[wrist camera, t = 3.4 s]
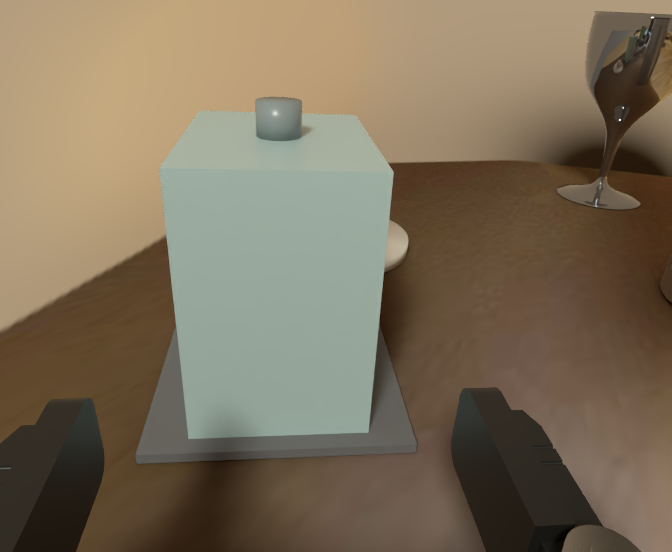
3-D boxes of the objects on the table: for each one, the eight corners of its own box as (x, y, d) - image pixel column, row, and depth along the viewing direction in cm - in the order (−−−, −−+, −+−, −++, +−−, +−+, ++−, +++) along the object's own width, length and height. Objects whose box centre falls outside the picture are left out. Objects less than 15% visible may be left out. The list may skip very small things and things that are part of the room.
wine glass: (586, 212, 45) (641, 12, 38) (535, 184, 51) (573, 10, 45) (666, 210, 46) (733, 17, 39) (607, 182, 53) (654, 14, 46)
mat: (373, 312, 29) (373, 306, 28) (415, 452, 20) (417, 444, 20) (181, 314, 28) (181, 308, 27) (136, 463, 19) (135, 455, 19)
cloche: (343, 313, 28) (357, 85, 23) (368, 432, 20) (397, 129, 15) (213, 314, 27) (197, 80, 22) (188, 439, 19) (154, 124, 14)
